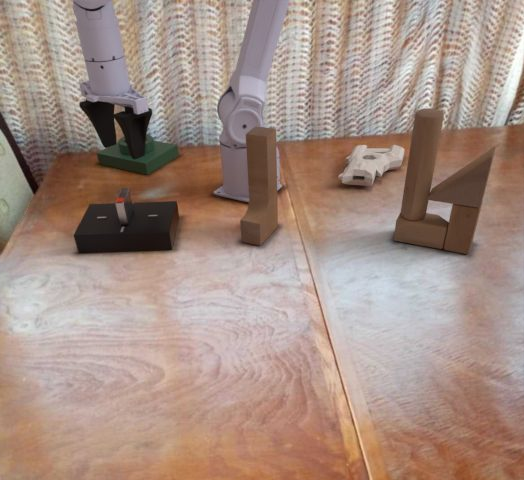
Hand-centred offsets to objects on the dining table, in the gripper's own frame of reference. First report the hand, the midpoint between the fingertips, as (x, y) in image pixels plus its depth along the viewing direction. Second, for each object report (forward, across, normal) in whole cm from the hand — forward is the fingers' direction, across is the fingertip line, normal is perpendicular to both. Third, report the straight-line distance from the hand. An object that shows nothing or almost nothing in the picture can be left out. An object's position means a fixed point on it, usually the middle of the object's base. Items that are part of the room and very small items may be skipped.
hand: (123, 151), depth 86 cm
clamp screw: (+6, +8, -7) cm, 12 cm away
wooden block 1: (+9, +24, +6) cm, 26 cm away
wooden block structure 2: (+9, +45, +20) cm, 50 cm away
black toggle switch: (+9, +8, -7) cm, 14 cm away
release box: (+9, -15, +12) cm, 21 cm away
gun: (+9, +24, +36) cm, 44 cm away
